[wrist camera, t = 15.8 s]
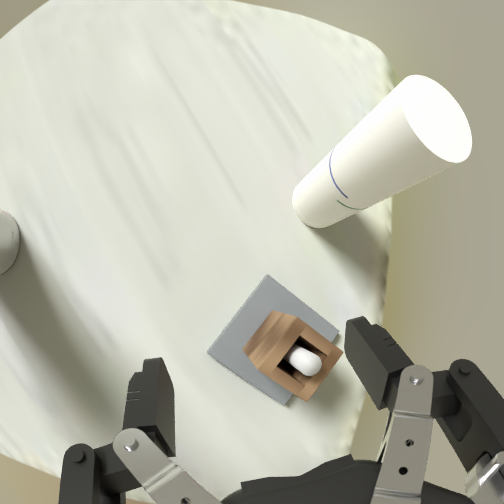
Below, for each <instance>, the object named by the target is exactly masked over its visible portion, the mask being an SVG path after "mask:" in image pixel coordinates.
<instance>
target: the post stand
mask: <svg viewBox="0 0 504 504" xmlns="http://www.w3.org/2000/svg"><path fill="white" fill-rule="evenodd" d="M272 310H274V311H278V312H281V313H285V314H289V315H293V316H296V317H299V318H300V319H301V320H302V321H304V322H305V323H306V324H308V325H309V326H310V327H312V328H313V329H314V330H315V331H317V332H318V333H319V334H321V335H322V336H323V337H325V338H326V339H327V340H329V341H330V342H331V343H332V341H333V340H334V338H335V337H336V335H337V334H338V332H339V330H338V329H336V328H335V327H334V326H333V325H331V324H330V323H329V322H328V321H326V320H325V319H324V318H323V317H321V316H320V315H319V314H317V313H316V312H315V311H314V310H312V309H311V308H310V307H309V306H307V305H306V304H305V303H304V302H302V301H301V300H300V299H298V298H297V297H296V296H295V295H293V294H292V293H291V292H290V291H288V290H287V289H286V288H285V287H283V286H282V285H281V284H280V283H278V282H277V281H276V280H275V279H273V278H272V277H271V276H269V275H265V277H264V278H263V279H262V281H261V282H260V283H259V285H258V286H257V287H256V289H255V290H254V291H253V292H252V294H251V295H250V296H249V298H248V299H247V300H246V302H245V303H244V304H243V306H242V307H241V308H240V309H239V311H238V312H237V313H236V315H235V316H234V317H233V318H232V320H231V321H230V322H229V324H228V325H227V326H226V328H225V329H224V330H223V331H222V333H221V334H220V335H219V336H218V338H217V339H216V340H215V342H214V343H213V344H212V345H211V347H210V348H209V349H208V351H207V354H209V355H210V356H212V357H213V358H214V359H216V360H217V361H219V362H220V363H221V364H223V365H224V366H226V367H227V368H228V369H230V370H231V371H233V372H234V373H236V374H237V375H238V376H240V377H241V378H243V379H244V380H246V381H247V382H249V383H250V384H252V385H253V386H255V387H256V388H258V389H259V390H261V391H262V392H264V393H265V394H267V395H269V396H270V397H272V398H273V399H275V400H276V401H278V402H280V403H281V404H283V405H285V404H286V402H287V401H288V400H289V399H290V397H291V396H292V395H293V393H292V392H290V391H289V390H287V389H286V388H284V387H283V386H281V385H280V384H278V383H277V382H275V381H274V380H272V379H271V378H269V377H268V376H266V375H265V374H263V373H262V372H260V371H259V370H258V369H257V368H256V367H255V366H254V364H253V363H252V362H251V360H250V359H249V358H248V357H247V355H246V354H245V353H244V351H243V350H242V349H243V347H244V346H245V345H246V344H247V342H248V341H249V340H250V338H251V337H252V336H253V334H254V333H255V332H256V331H257V329H258V328H259V327H260V325H261V324H262V323H263V321H264V320H265V319H266V317H267V316H268V315H269V314H270V312H271V311H272ZM283 359H285V360H286V361H287V362H288V363H290V364H291V365H292V366H294V367H295V368H296V369H298V370H299V371H300V372H302V373H303V374H304V375H306V376H313V375H315V374H317V373H318V372H319V370H320V369H321V365H322V362H321V359H320V358H319V356H317V355H315V354H313V353H312V352H310V351H308V350H306V349H304V348H302V347H300V346H298V345H296V344H295V343H294V344H293V345H292V346H291V348H290V349H289V350H288V352H287V353H286V354H285V356H284V357H283ZM281 360H282V359H281Z"/></svg>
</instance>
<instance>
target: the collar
mask: <svg viewBox="0 0 504 504" xmlns="http://www.w3.org/2000/svg"><path fill="white" fill-rule="evenodd" d="M294 343H295V344H296V345H298V346H300V347H302V348H304V349H306V350H308V351H310V352H312V353H313V354H315V355H317V356H319V358H320V359H321V362H322V365H321V369H320V370H319V372H318V373H317V374H315V375H313V376H306V375H304V374H303V373H302V372H300V371H299V370H298V369H296V368H295V367H294V366H292V365H291V364H290V363H288V362H287V361H286V360H285V359H283V357H284V356H285V354H286V353H287V352H288V350H289V349H290V348H291V346H292V345H293V344H294ZM242 350H243V351H244V353H245V354H246V355H247V357H248V358H249V359H250V360H251V362H252V363H253V364H254V366H255V367H256V368H257V369H258V370H259V371H260V372H262V373H263V374H265V375H266V376H268V377H269V378H271V379H272V380H274V381H275V382H277V383H278V384H280V385H281V386H283V387H284V388H286V389H287V390H289V391H290V392H292V393H293V394H295V395H296V396H298V397H299V398H301V399H303V400H304V401H306V402H307V401H308V400H309V398H310V397H311V396H312V395H313V393H314V392H315V391H316V389H317V388H318V387H319V385H320V384H321V383H322V381H323V380H324V379H325V377H326V376H327V375H328V373H329V372H330V371H331V369H332V368H333V366H334V365H335V364H336V362H337V361H338V359H339V358H340V357H341V355H342V354H343V351H342V350H340V349H339V348H338V347H336V346H335V345H334V344H332V343H331V342H330V341H329V340H327V339H326V338H325V337H323V336H322V335H321V334H319V333H318V332H317V331H315V330H314V329H313V328H312V327H310V326H309V325H308V324H306V323H305V322H304V321H302V320H301V319H300V318H299V317H296V316H293V315H289V314H285V313H281V312H278V311H274V310H272V311H271V312H270V314H269V315H268V316H267V317H266V319H265V320H264V321H263V323H262V324H261V325H260V327H259V328H258V329H257V331H256V332H255V333H254V334H253V336H252V337H251V338H250V340H249V341H248V342H247V344H246V345H245V346H244V347H243V349H242ZM281 359H282V360H281Z"/></svg>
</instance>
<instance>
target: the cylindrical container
mask: <svg viewBox="0 0 504 504" xmlns="http://www.w3.org/2000/svg"><path fill="white" fill-rule="evenodd" d="M471 147H472V136H471V130H470V127H469V124H468V121H467V119H466V116H465V115H464V112H463V111H462V109H461V107H460V106H459V104H458V103H457V102H456V100H455V99H454V98H453V96H452V95H451V94H450V93H449V92H448V91H447V90H446V89H444V87H442V86H441V85H440V84H438V83H437V82H435V81H433V80H431V79H430V78H428V77H425V76H421V75H411V76H408V77H407V78H405V79H404V80H403V81H402V82H401V83H400V84H399V85H398V86H397V87H396V88H395V89H394V90H392V91H391V92H390V93H389V94H388V95H387V96H386V97H385V98H384V99H383V100H382V101H381V102H380V103H379V104H378V105H377V106H376V107H375V108H374V109H373V110H372V111H371V112H370V113H369V114H368V115H367V116H366V117H365V118H364V119H363V120H362V121H361V122H360V123H359V124H358V125H357V126H356V127H355V128H354V129H353V130H352V131H351V132H350V133H349V134H348V135H347V136H346V137H345V138H344V139H343V140H342V141H341V142H340V143H339V144H338V145H337V146H336V147H335V148H334V149H333V150H332V151H331V152H330V153H329V154H328V155H327V156H326V157H325V158H324V159H323V160H322V161H321V162H320V163H319V164H318V165H317V166H316V167H315V168H314V169H313V170H312V171H311V172H310V173H309V174H308V175H307V176H306V177H305V178H304V179H303V180H302V181H301V182H300V183H299V184H298V185H297V186H296V188H295V190H294V193H293V198H292V202H293V208H294V211H295V213H296V215H297V216H298V217H299V219H300V220H301V221H302V222H303V223H305V224H306V225H308V226H311V227H313V228H325V227H328V226H330V225H332V224H334V223H337V222H339V221H341V220H343V219H345V218H347V217H349V216H351V215H353V214H355V213H358V212H360V211H362V210H364V209H366V208H368V207H370V206H372V205H374V204H376V203H378V202H380V201H382V200H384V199H386V198H389V197H391V196H393V195H395V194H397V193H399V192H401V191H403V190H405V189H407V188H409V187H411V186H413V185H415V184H417V183H419V182H421V181H423V180H425V179H428V178H430V177H432V176H434V175H436V174H438V173H440V172H442V171H444V170H446V169H448V168H450V167H452V166H454V165H456V164H458V163H460V162H462V161H464V160H466V158H467V157H468V156H469V154H470V152H471Z"/></svg>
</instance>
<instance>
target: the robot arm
mask: <svg viewBox="0 0 504 504" xmlns="http://www.w3.org/2000/svg"><path fill="white" fill-rule="evenodd" d="M19 243H20V235H19V229H18V226H17V223H16V221H15V220H14V218H13V217H12V216H11V215H10V214H9V213H7V212H5V211H3V210H0V274H3V273H4V272H6V271H7V270H8V269H9V268H10V267H11V266H12V264H13V263H14V261H15V259H16V256H17V253H18V250H19ZM344 349H345V354H346V357H347V359H348V361H349V362H350V364H351V366H352V367H353V369H354V371H355V372H356V374H357V375H358V377H359V379H360V380H361V382H362V384H363V385H364V387H365V389H366V390H367V392H368V394H369V395H370V396H371V399H372V400H373V402H374V403H375V405H376V407H377V409H378V410H381V409H383V408H386V407H387V408H388V410H389V411H390V412H389V415H388V419H387V423H386V427H385V431H384V435H383V439H382V442H381V446H380V449H379V452H378V456H377V458H376V461H371V460H353V458H352V455H351V454H349V455H347V456H344V457H341V458H338V459H334V460H331V461H328V462H325V463H323V464H321V465H320V466H318V467H316V468H314V469H312V470H310V471H309V472H307V473H305V474H303V475H301V476H295V477H266V478H261V479H256V480H251V481H245V482H241V487H242V489H240V490H237V491H235V492H233V493H232V494H230V495H229V496H227V497H226V498H224V499H223V500H222V501H221V502H220V501H218V500H217V499H216V498H215V497H214V496H212V495H211V494H210V493H209V492H208V491H206V490H205V489H204V488H203V487H202V486H201V485H199V484H198V483H197V482H196V481H195V480H194V479H193V478H192V477H190V476H189V475H188V474H187V473H186V472H185V471H184V470H183V469H182V468H181V467H179V466H178V465H175V464H174V463H173V462H172V461H171V460H170V459H169V458H168V457H176V454H175V414H174V388H173V384H172V381H171V378H170V376H169V374H168V371H167V369H166V366H165V364H164V361H163V359H162V358H161V357H160V358H153V359H145V360H144V362H143V370H142V372H137V373H134V375H133V376H132V378H131V380H130V381H129V386H128V393H127V401H126V407H125V414H124V423H123V430H122V431H121V432H120V433H118V434H117V435H116V437H115V438H114V440H113V443H111V444H108V445H106V446H102V447H99V448H96V449H92V448H91V447H90V446H88V445H86V444H75V445H73V446H71V447H70V448H69V449H68V450H67V451H66V452H65V455H64V459H63V466H62V474H61V483H60V493H59V504H126V496H125V492H126V491H129V490H133V489H136V488H139V487H142V486H143V487H144V489H145V490H146V492H147V493H148V494H149V495H150V496H151V497H152V498H153V499H154V500H155V502H156V503H157V504H504V399H503V398H502V396H501V395H500V394H499V393H498V391H497V390H496V389H495V388H494V386H493V385H492V384H491V383H490V381H489V380H488V379H487V378H486V377H485V375H484V374H483V373H482V372H481V371H480V369H479V368H478V367H477V366H476V365H475V364H474V363H473V362H471V361H469V360H466V359H459V360H456V361H454V362H453V363H452V364H451V366H450V368H449V370H444V371H437V372H431V371H430V370H429V369H428V368H426V367H424V366H421V365H414V363H413V362H412V361H411V360H410V358H409V357H408V356H407V355H406V354H405V352H404V351H403V350H402V349H401V347H400V346H399V345H398V344H396V341H395V340H394V339H393V338H392V337H391V335H390V334H389V333H388V332H387V331H386V330H385V329H384V328H382V327H381V326H379V325H377V324H374V325H371V324H370V323H369V322H368V320H367V319H366V318H365V317H364V316H361V317H358V318H354V319H350V320H347V322H346V331H345V344H344ZM434 418H435V419H436V420H437V422H438V424H439V425H440V427H441V428H442V430H443V432H444V433H445V435H446V437H447V438H448V440H449V442H450V444H451V445H452V447H453V449H454V450H455V452H456V454H457V456H458V457H459V459H460V461H461V462H462V464H463V466H464V468H465V469H466V471H467V475H466V477H465V487H466V488H465V491H466V493H467V496H465V495H462V494H460V493H456V492H454V491H450V490H448V489H445V488H442V487H439V486H437V485H434V484H431V483H429V482H426V481H423V480H424V475H425V470H426V465H427V460H428V454H429V447H430V441H431V434H432V426H433V419H434Z"/></svg>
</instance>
